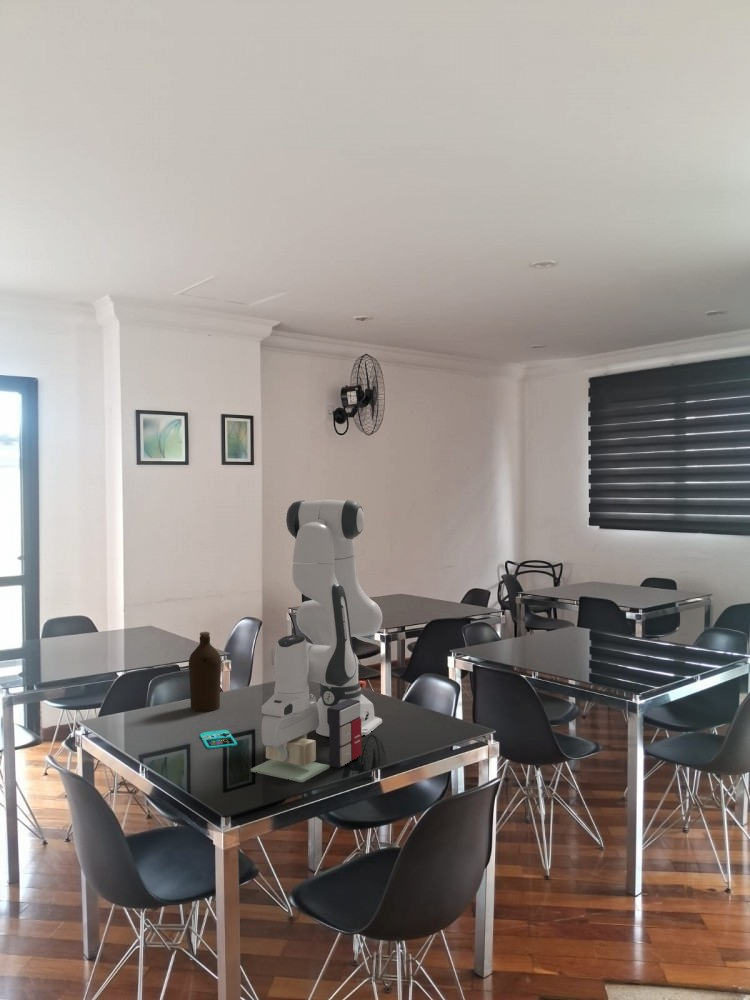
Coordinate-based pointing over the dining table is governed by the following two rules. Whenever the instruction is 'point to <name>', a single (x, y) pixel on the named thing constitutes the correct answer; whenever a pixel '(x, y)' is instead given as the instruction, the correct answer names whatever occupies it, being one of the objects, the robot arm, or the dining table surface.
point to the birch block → (295, 751)
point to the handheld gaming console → (217, 738)
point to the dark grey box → (344, 732)
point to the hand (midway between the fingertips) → (292, 755)
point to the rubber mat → (290, 770)
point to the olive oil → (205, 676)
